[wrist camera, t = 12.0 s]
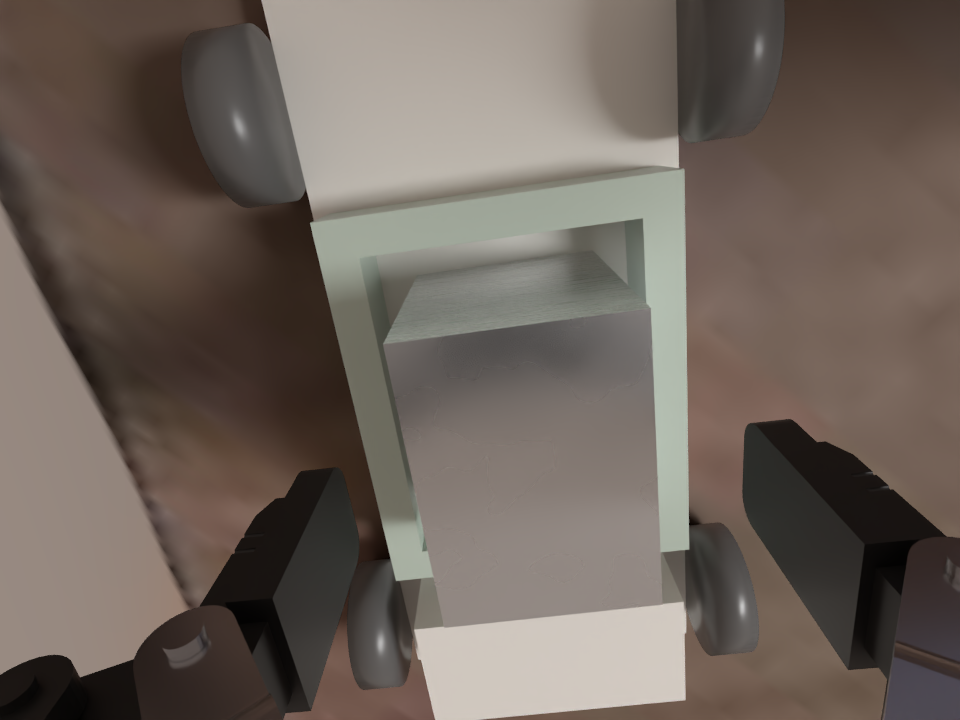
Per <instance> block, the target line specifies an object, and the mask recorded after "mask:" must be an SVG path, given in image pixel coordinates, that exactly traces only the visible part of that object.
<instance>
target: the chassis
mask: <svg viewBox="0 0 960 720" xmlns="http://www.w3.org/2000/svg"><path fill="white" fill-rule="evenodd" d="M261 1H262V5H263V9H264V13H265V17H266V22H267V26H268V30H269V34H270V38H271V42H270V41H269V39H268V38H267V36H266V35H265V34H264V33H263V31H262V30H261V29H259V28H258V27H257V26H256V25H254V24H251V23H245V24H239V25H233V26H227V27H221V28H215V29H209V30H203V31H197V32H193V33H191V34H190V35H189V36H188V37H187V39H186V41H185V43H184V47H183V51H182V58H181V76H182V86H183V93H184V99H185V104H186V108H187V112H188V116H189V120H190V123H191V126H192V129H193V132H194V135H195V138H196V141H197V143H198V146H199V148H200V151H201V153H202V155H203V157H204V160H205V161H206V163H207V165H208V167H209V169H210V171H211V173H212V174H213V176H214V178H215V179H216V181H217V182H218V184H219V185H220V187H221V188H222V189H223V191H224V192H225V193H226V194H227V195H228V196H229V197H230V198H231V199H232V200H233V201H234V202H235V203H237V204H238V205H240V206H242V207H246V208H252V207H259V206H266V205H273V204H279V203H286V202H293V201H298V200H300V199H301V198H302V196H303V194H304V192H305V189H306V190H307V194H308V198H309V202H310V207H311V211H312V215H313V219H314V221H313V222H311V223H310V226H311V230H312V234H313V238H314V242H315V247H316V251H317V255H318V259H319V263H320V267H321V271H322V276H323V280H324V284H325V288H326V292H327V296H328V301H329V305H330V309H331V313H332V317H333V321H334V325H335V330H336V334H337V338H338V342H339V346H340V350H341V354H342V359H343V363H344V367H345V371H346V375H347V379H348V384H349V388H350V392H351V396H352V400H353V404H354V408H355V413H356V417H357V421H358V425H359V429H360V433H361V438H362V442H363V446H364V450H365V454H366V458H367V462H368V467H369V471H370V475H371V479H372V483H373V487H374V492H375V496H376V500H377V504H378V508H379V512H380V516H381V521H382V525H383V529H384V533H385V537H386V541H387V546H388V550H389V554H390V558H391V559H383V560H374V561H365V562H361V563H360V564H359V565H358V566H357V568H356V570H355V572H354V575H353V578H352V582H351V587H350V593H349V600H348V613H347V635H348V649H349V657H350V663H351V668H352V671H353V675H354V678H355V680H356V682H357V684H358V686H359V687H360V688H361V689H362V690H369V689H379V688H390V687H400V686H403V685H404V683H405V682H406V679H407V676H408V673H409V668H410V662H411V652H412V635H413V639H414V644H415V648H416V652H417V656H418V660H421V661H422V666H423V670H424V674H425V678H426V683H427V687H428V691H429V695H430V699H431V704H432V708H433V712H434V716H435V720H479V719H490V718H500V717H511V716H522V715H532V714H543V713H553V712H564V711H575V710H585V709H596V708H607V707H617V706H628V705H639V704H649V703H660V702H670V701H681V700H685V644H684V633H686V608H687V612H688V615H689V618H690V621H691V624H692V627H693V629H694V632H695V634H696V636H697V639H698V641H699V643H700V644H701V646H702V648H703V649H704V651H705V652H706V653H707V654H708V655H710V656H716V655H726V654H737V653H747V652H752V651H754V650H755V648H756V646H757V643H758V636H759V621H758V611H757V605H756V599H755V594H754V590H753V586H752V582H751V578H750V575H749V572H748V569H747V566H746V563H745V560H744V558H743V555H742V553H741V550H740V548H739V546H738V544H737V542H736V540H735V539H734V537H733V535H732V534H731V532H730V531H729V530H728V528H727V527H726V526H724V525H723V524H722V523H709V524H700V525H691V526H689V492H688V414H687V336H686V257H685V179H684V169H681V168H679V148H678V133H679V134H680V136H681V137H682V138H683V139H684V140H685V141H686V142H689V143H695V142H702V141H709V140H715V139H722V138H729V137H736V136H742V135H746V134H748V133H750V132H751V131H752V130H753V129H755V127H756V126H757V125H758V124H759V123H760V121H761V119H762V118H763V116H764V114H765V112H766V110H767V108H768V106H769V104H770V101H771V99H772V96H773V93H774V90H775V86H776V83H777V79H778V75H779V70H780V65H781V59H782V52H783V44H784V30H785V9H784V0H261ZM271 43H272V44H271ZM590 250H593V251H594V252H595V253H596V254H597V255H598V256H599V257H600V258H601V259H602V260H603V261H604V262H605V263H606V264H607V265H608V266H609V267H610V268H611V269H612V270H613V271H614V272H615V273H616V274H617V275H618V276H619V277H620V278H621V279H622V280H623V281H624V282H625V283H626V284H627V285H628V286H629V287H630V288H631V289H632V290H633V291H634V292H635V293H636V294H637V295H638V296H639V297H640V298H641V299H642V300H643V301H644V302H645V303H646V304H647V305H648V306H649V307H650V308H651V325H652V350H653V375H654V400H655V425H656V449H657V474H658V499H659V524H660V549H661V574H662V599H663V605H655V606H646V607H636V608H627V609H618V610H608V611H599V612H590V613H580V614H571V615H561V616H552V617H543V618H533V619H524V620H515V621H505V622H496V623H487V624H477V625H468V626H458V627H449V628H444V624H443V619H442V615H441V610H440V605H439V601H438V596H437V592H436V587H435V582H434V578H433V573H432V568H431V564H430V559H429V555H428V550H427V545H426V541H425V536H424V532H423V527H422V522H421V518H420V513H419V509H418V504H417V499H416V495H415V490H414V485H413V481H412V476H411V472H410V467H409V462H408V458H407V453H406V449H405V444H404V439H403V435H402V430H401V426H400V421H399V416H398V412H397V407H396V403H395V398H394V393H393V389H392V384H391V379H390V375H389V370H388V366H387V361H386V356H385V352H384V347H383V343H384V341H385V339H386V337H387V335H388V333H389V331H390V329H391V327H392V325H393V323H394V321H395V319H396V317H397V315H398V313H399V311H400V309H401V307H402V305H403V303H404V301H405V299H406V297H407V295H408V293H409V291H410V289H411V287H412V285H413V283H414V281H415V279H416V277H417V275H422V274H429V273H436V272H443V271H450V270H457V269H464V268H471V267H478V266H485V265H492V264H499V263H506V262H513V261H520V260H527V259H534V258H541V257H548V256H555V255H562V254H569V253H576V252H583V251H590Z"/></svg>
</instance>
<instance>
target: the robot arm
mask: <svg viewBox="0 0 960 720" xmlns="http://www.w3.org/2000/svg"><path fill="white" fill-rule="evenodd" d="M742 493H743V503H744V507H745V511H746V514H747V517H748V520H749V522H750V524H751V525H752V527H753V529H754V530H755V532H756V533H757V535H758V536H759V538H760V539H761V541H762V542H763V543H764V545H765V546H766V548H767V549H768V551H769V552H770V554H771V555H772V557H773V558H774V560H775V561H776V563H777V564H778V566H779V567H780V569H781V570H782V572H783V573H784V575H785V576H786V578H787V579H788V581H789V582H790V584H791V585H792V587H793V588H794V590H795V591H796V593H797V594H798V596H799V597H800V599H801V600H802V602H803V603H804V605H805V606H806V608H807V609H808V611H809V612H810V614H811V615H812V617H813V618H814V620H815V621H816V623H817V624H818V626H819V627H820V629H821V630H822V632H823V633H824V635H825V636H826V638H827V639H828V641H829V642H830V644H831V645H832V647H833V648H834V650H835V651H836V652H837V654H838V655H839V657H840V658H841V660H842V661H843V663H844V664H845V666H846V667H847V669H848V670H854V669H866V668H879V669H880V670H881V671H882V673H883V674H884V675H885V677H886V678H887V684H886V690H885V696H884V703H883V709H882V716H881V720H960V538H955V537H947V536H945V535H944V534H943V533H942V532H941V531H940V530H939V529H937V528H936V527H935V526H934V525H933V524H932V523H931V522H929V521H928V520H927V519H926V518H925V517H924V516H923V515H921V514H920V513H919V512H918V511H917V510H916V509H915V508H913V507H912V506H911V505H910V504H909V503H908V502H907V501H906V500H904V499H903V498H902V497H901V496H900V495H899V494H898V493H896V492H895V491H894V490H890V489H889V486H888V485H887V484H886V483H885V482H884V481H883V480H882V479H880V478H879V477H878V476H877V475H873V472H872V471H871V470H870V469H869V468H868V467H867V466H866V465H864V464H863V463H862V462H861V461H860V460H859V459H858V458H857V457H855V456H854V455H853V454H851V453H849V452H847V451H844V450H842V449H840V448H838V447H836V446H834V445H832V444H830V443H828V442H816V441H815V440H814V439H813V438H812V437H811V436H810V435H808V434H807V433H806V432H805V431H804V430H803V429H802V428H801V427H800V426H799V425H798V424H797V423H796V422H794V421H793V420H791V419H786V420H776V421H767V422H758V423H750V424H748V425H747V427H746V429H745V435H744V461H743V490H742ZM244 535H245V537H244V538H242V539H241V541H240V542H239V544H238V545H237V547H236V549H235V554H232V555H231V557H230V558H229V560H228V561H227V563H226V565H225V566H224V568H223V570H222V571H221V573H220V574H219V576H218V578H217V579H216V581H215V582H214V584H213V586H212V587H211V589H210V590H209V592H208V594H207V595H206V597H205V599H204V600H203V602H202V603H201V605H200V607H197V608H193V609H191V610H188V611H185V612H183V613H181V614H179V615H177V616H175V617H173V618H171V619H169V620H168V621H167V622H165V623H164V624H162V625H161V626H160V627H158V628H157V629H156V630H155V631H153V632H152V633H151V634H150V636H148V637H147V639H146V640H145V641H144V642H143V643H142V645H141V646H140V648H139V649H138V651H137V653H136V656H135V658H134V659H133V660H130V661H127V662H125V663H122V664H119V665H116V666H113V667H110V668H107V669H104V670H101V671H98V672H95V673H92V674H89V675H86V676H83V677H79V675H78V673H77V671H76V669H75V667H74V666H73V664H72V662H71V660H70V659H68V658H67V657H64V656H61V655H48V656H43V657H38V658H35V659H32V660H29V661H27V662H24V663H22V664H19V665H17V666H16V667H13V668H11V669H9V670H8V671H6V672H4V673H3V674H1V675H0V720H283V718H284V716H285V713H291V712H304V711H311V709H312V705H313V702H314V699H315V696H316V693H317V690H318V686H319V683H320V680H321V677H322V674H323V670H324V667H325V664H326V661H327V658H328V655H329V651H330V648H331V645H332V642H333V639H334V635H335V632H336V629H337V626H338V623H339V620H340V616H341V613H342V610H343V607H344V604H345V600H346V597H347V594H348V591H349V588H350V585H351V581H352V578H353V575H354V572H355V569H356V565H357V562H358V557H359V535H358V530H357V526H356V522H355V518H354V514H353V510H352V506H351V502H350V498H349V494H348V491H347V487H346V483H345V479H344V476H343V473H342V471H341V470H340V469H339V468H337V467H335V468H326V469H317V470H308V471H301V472H300V473H299V474H298V476H297V477H296V479H295V481H294V483H293V484H292V486H291V488H290V490H289V491H288V493H287V495H286V497H285V498H277V499H275V500H274V501H273V502H271V503H270V504H269V505H268V506H267V507H266V508H264V509H263V510H262V511H261V512H260V513H259V514H257V515H256V516H255V518H254V520H253V521H252V523H251V524H250V526H249V528H248V529H247V531H246V532H245V534H244Z"/></svg>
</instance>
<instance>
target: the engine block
mask: <svg viewBox="0 0 960 720" xmlns="http://www.w3.org/2000/svg"><path fill="white" fill-rule="evenodd" d="M383 347H384V352H385V356H386V361H387V366H388V370H389V375H390V379H391V384H392V389H393V393H394V398H395V403H396V407H397V412H398V416H399V421H400V426H401V430H402V435H403V439H404V444H405V449H406V453H407V458H408V462H409V467H410V472H411V476H412V481H413V485H414V490H415V495H416V499H417V504H418V509H419V513H420V518H421V522H422V527H423V532H424V536H425V541H426V545H427V550H428V555H429V559H430V564H431V568H432V573H433V578H434V582H435V587H436V592H437V596H438V601H439V605H440V610H441V615H442V619H443V624H444V628H449V627H458V626H468V625H477V624H487V623H496V622H505V621H515V620H524V619H533V618H543V617H552V616H561V615H571V614H580V613H590V612H599V611H608V610H618V609H627V608H636V607H646V606H655V605H663V599H662V574H661V549H660V524H659V499H658V474H657V449H656V425H655V400H654V375H653V350H652V325H651V308H650V307H649V306H648V305H647V304H646V303H645V302H644V301H643V300H642V299H641V298H640V297H639V296H638V295H637V294H636V293H635V292H634V291H633V290H632V289H631V288H630V287H629V286H628V285H627V284H626V283H625V282H624V281H623V280H622V279H621V278H620V277H619V276H618V275H617V274H616V273H615V272H614V271H613V270H612V269H611V268H610V267H609V266H608V265H607V264H606V263H605V262H604V261H603V260H602V259H601V258H600V257H599V256H598V255H597V254H596V253H595V252H594V251H593V250H590V251H583V252H576V253H569V254H562V255H555V256H548V257H541V258H534V259H527V260H520V261H513V262H506V263H499V264H492V265H485V266H478V267H471V268H464V269H457V270H450V271H443V272H436V273H429V274H422V275H417V277H416V279H415V281H414V283H413V285H412V287H411V289H410V291H409V293H408V295H407V297H406V299H405V301H404V303H403V305H402V307H401V309H400V311H399V313H398V315H397V317H396V319H395V321H394V323H393V325H392V327H391V329H390V331H389V333H388V335H387V337H386V339H385V341H384V343H383Z"/></svg>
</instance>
